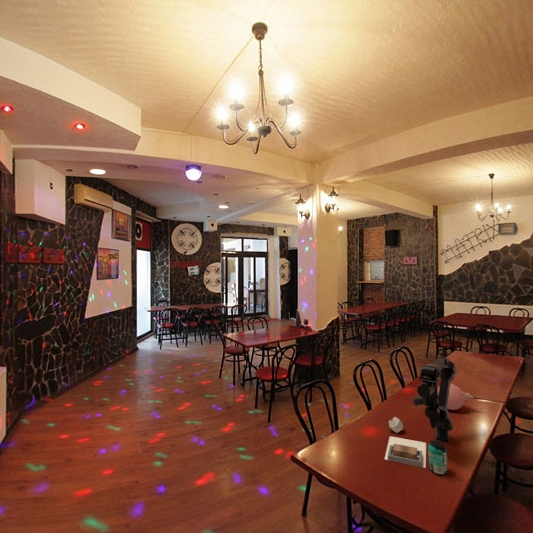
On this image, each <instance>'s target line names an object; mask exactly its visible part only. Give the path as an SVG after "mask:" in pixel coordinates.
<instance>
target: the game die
mask: <svg viewBox="0 0 533 533" xmlns="http://www.w3.org/2000/svg"><path fill="white" fill-rule="evenodd" d="M387 422H388V427H387V429H390V430H391V431H393V432H394V433H395V434H398V433H400V432H401V431H403V430H406V429H405V428H404V421H402V419H401V418H398V417H396V415H394V417H392V418H390V419H389V420H387Z"/></svg>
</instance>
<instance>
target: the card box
mask: <svg viewBox="0 0 533 533" xmlns="http://www.w3.org/2000/svg"><path fill="white" fill-rule="evenodd" d="M393 456H398V457H403V458H408V459H413V460H417V448H415V447H409V446H404V445H399V444H394V445H393Z"/></svg>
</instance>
